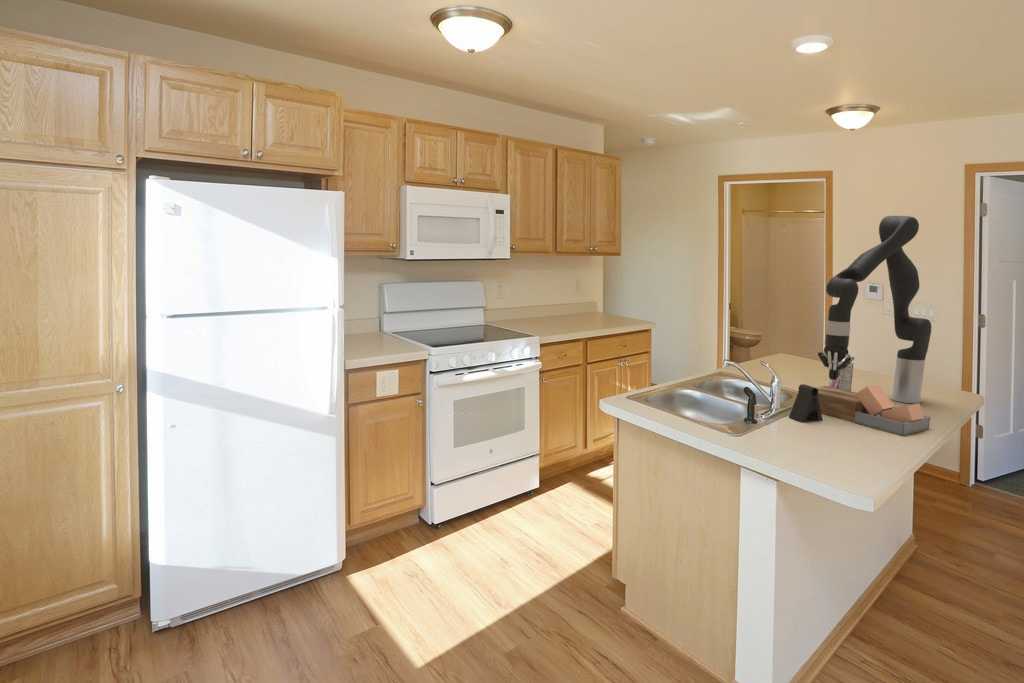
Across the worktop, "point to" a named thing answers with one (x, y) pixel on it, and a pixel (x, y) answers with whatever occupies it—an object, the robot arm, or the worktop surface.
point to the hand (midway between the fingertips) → (833, 379)
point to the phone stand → (806, 405)
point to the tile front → (904, 413)
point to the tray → (892, 424)
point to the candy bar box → (843, 378)
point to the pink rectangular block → (874, 399)
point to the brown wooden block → (839, 403)
